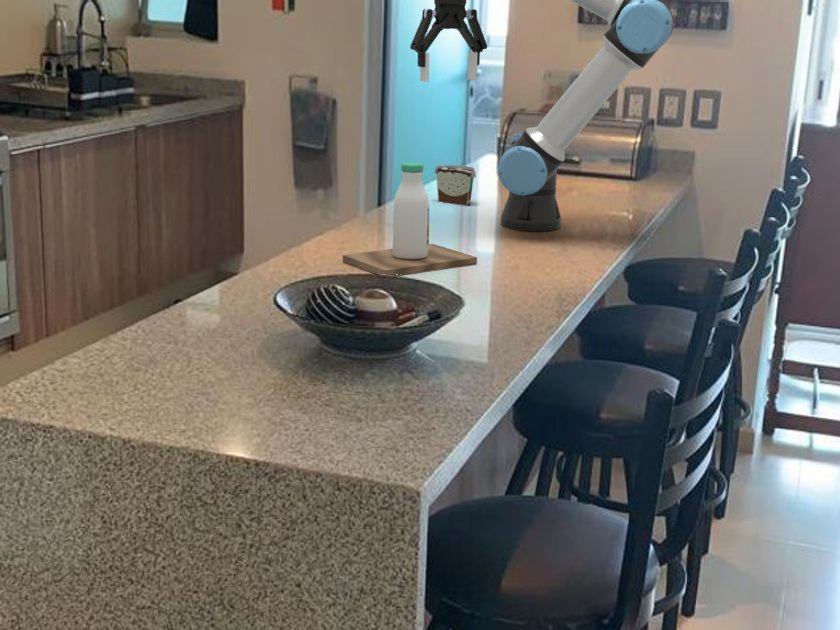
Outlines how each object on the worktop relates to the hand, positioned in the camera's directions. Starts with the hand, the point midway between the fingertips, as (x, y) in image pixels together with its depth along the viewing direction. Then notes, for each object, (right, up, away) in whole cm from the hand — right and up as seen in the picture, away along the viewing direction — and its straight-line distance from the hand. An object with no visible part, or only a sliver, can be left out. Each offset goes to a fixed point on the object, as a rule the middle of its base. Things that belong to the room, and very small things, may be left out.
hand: (448, 80), depth 276 cm
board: (-9, -44, -26) cm, 52 cm away
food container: (+4, -25, +47) cm, 53 cm away
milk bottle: (-9, -43, -26) cm, 51 cm away
